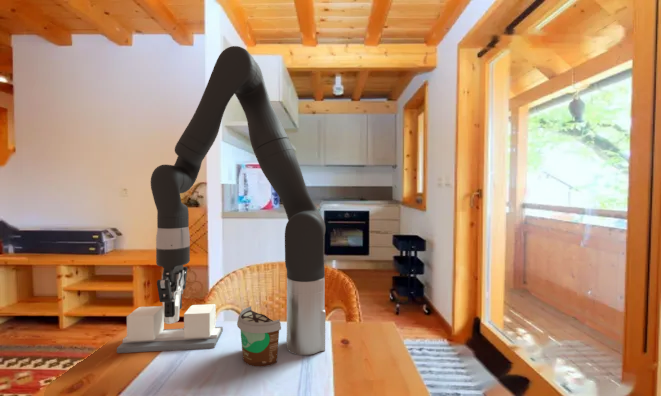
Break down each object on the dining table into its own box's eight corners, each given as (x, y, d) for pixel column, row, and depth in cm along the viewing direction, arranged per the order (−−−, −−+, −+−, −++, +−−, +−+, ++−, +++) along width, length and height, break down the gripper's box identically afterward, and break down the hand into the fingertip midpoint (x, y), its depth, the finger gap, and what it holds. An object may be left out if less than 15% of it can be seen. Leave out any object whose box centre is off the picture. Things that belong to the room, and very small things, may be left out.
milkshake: (176, 326, 75) (175, 286, 75) (157, 324, 76) (156, 284, 76) (188, 318, 80) (188, 280, 79) (170, 316, 81) (169, 278, 80)
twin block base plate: (222, 331, 84) (222, 301, 84) (214, 347, 75) (214, 315, 75) (136, 335, 81) (135, 305, 81) (116, 353, 72) (116, 319, 72)
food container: (226, 355, 72) (226, 312, 72) (249, 345, 76) (249, 305, 76) (257, 377, 63) (257, 329, 63) (281, 365, 68) (281, 320, 68)
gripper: (178, 250, 71) (178, 324, 71) (197, 240, 85) (197, 302, 86) (143, 250, 70) (144, 325, 70) (168, 240, 84) (168, 303, 85)
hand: (173, 312), depth 78 cm, fingers closed on milkshake, 4 cm apart
